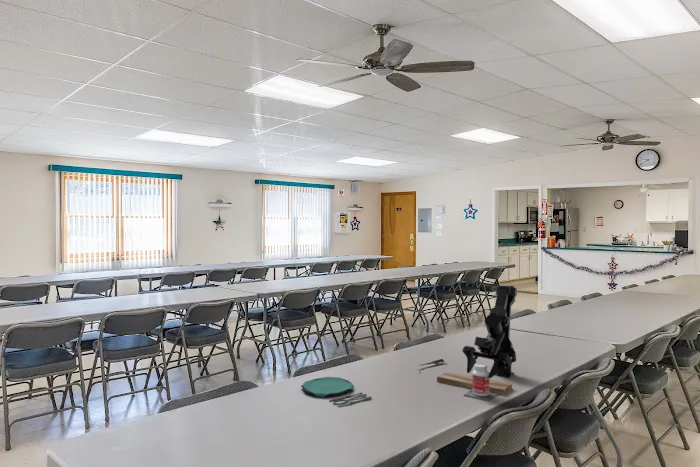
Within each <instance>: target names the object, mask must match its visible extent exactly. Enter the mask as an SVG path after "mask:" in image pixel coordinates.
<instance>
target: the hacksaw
mask: <svg viewBox="0 0 700 467" xmlns="http://www.w3.org/2000/svg"><path fill="white" fill-rule="evenodd" d="M444 361H445V360H444V359H443V358H439V359H437V360H433V361H431V362H426V363H422V364H419V366H421V367H422V366H425V365H430V366H425V367H422V368H420V369H418V371H419V373H416V374H421V373H422V372H421V371H423V370H426V369H431V368H434V367H437V366H442V365H444V366H446V365H448V363H447V362H444ZM431 364H432V365H431Z"/></svg>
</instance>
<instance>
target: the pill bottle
mask: <svg viewBox="0 0 700 467" xmlns="http://www.w3.org/2000/svg"><path fill="white" fill-rule="evenodd" d="M489 373H490V371H488V365H487V364H486V363H475V365H474V366H473V371H472V375H471V376H472V377H473V394H474V395H476V396H482V397H484V396H488V395H489V380H490V378H489V377H488V376H489Z"/></svg>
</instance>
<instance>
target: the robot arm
mask: <svg viewBox="0 0 700 467" xmlns="http://www.w3.org/2000/svg"><path fill="white" fill-rule="evenodd" d="M495 296H496V299H495V304H494V307H493V308H492V309H490V312H489V313H488V314H489V315H487V316H486V317H485V319H484V324H485V327H486V331H487V333H488V334H487V336H486V337H479V336H476V337H475V340H474V343H473V345H474V346H477V349H478V350H476V348H475V347H474V346H470V345H465V346H463V348H462V350H461V351H462V353H463V354H464V355H465V357H466V359H467V360H466V361H467V362H466V363H467V365H466V372H467V374H469V373H471V372H472V370H473V369H474V365H475V364H477V359H478V357H479V358H483V359H488V360H492V361H493V364H492V366H491V369H490V370H489V376H488V377H489V379H492V378H493V377H494V376H499V377H504V378H511V377H513V375H515V371H514V372H513V371H512V364H513V363H515V362H517V354H516V351H515V348H514V345H513V343H512V341H511V339H510V334H511V333H510V332H511V317H512V315H511V312H512V306H513V305H514V304H515V302H516V297H518V289H517V287H515V285H498V286H496V287H495Z"/></svg>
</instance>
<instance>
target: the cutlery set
mask: <svg viewBox="0 0 700 467" xmlns="http://www.w3.org/2000/svg"><path fill="white" fill-rule="evenodd" d="M300 387H301V388H302V389H303V391H304V392H305V393H309V394H311V395H314V396H316V397H318V398H319V397H321V398H325V397H326V396H328V397H329V396H336V395H337V396H338V395H340V394H344V393H347V392H348V391H350V390H352V391H353V390H354V388H355V385H354V383H352V382H351V381H349V380H347V379H345V378H341V377H338V376H324V377H318V378H315V379H311V380H306V381H304V382H303V383H302V384H301V386H300ZM353 396H354V397H353ZM350 397H351V398H350ZM362 397H363V398H362ZM358 398H361V399H359V400H355V401H352V400H354V399H358ZM369 400H372V396H368V397H367V393H363V392H358V393H353V394H347V395H346V394H345V396H340V397H336V398H332V399H329V402H330V403H331V402H332V403H333V404H334V405H337V408H343V407H349V406H352V405H353V404H358V403H362V402H365V401H369Z"/></svg>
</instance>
